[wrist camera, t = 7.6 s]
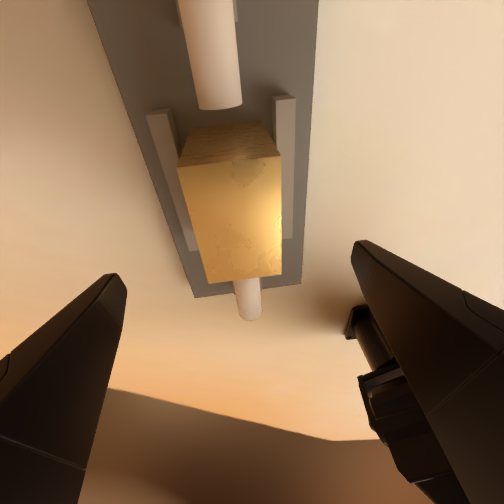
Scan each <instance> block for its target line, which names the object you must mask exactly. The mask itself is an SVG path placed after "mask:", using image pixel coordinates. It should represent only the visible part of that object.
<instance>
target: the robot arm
mask: <svg viewBox="0 0 504 504" xmlns="http://www.w3.org/2000/svg"><path fill="white" fill-rule="evenodd" d="M351 263H352V266H353V269H354V271H355V274H356V277H357V279H358V282H359V285H360V287H361V290H362V293H363V295H364V297H365V299H366V301H367V303H368V305H365V306H358V307H355V308H353V309H352V312H351V315H350V319H349V322H348V326H347V329H346V333H345V338H346V339H347V340H350V339H357V340H358V342H359V344H360V346H361V349H362V351H363V353H364V355H365V357H366V359H367V361H368V363H369V365H370V367H371V370H372V372H370V373H368V374H365V375H360V376H358V377H357V378H358V382H359V388H360V391H361V395H362V398H363V401H364V405H365V408H366V411H367V415H368V420H369V425H370V427H371V429H372V430H374V431H375V432H376V433H377V435H378V436H379V438H380V439H381V441H382V442H383V443H384V444H385V445H386V446H387V447H389V449H390V451H391V454H392V457H393V459H394V462H395V464H396V466H397V468H398V470H399V472H400V473H401V474H402V475H403V476H404V477H405V478H406V479H407V481H408V482H410V483H411V484H413V483H414V484H415V485H417V486H418V488H420V489H421V490H422V491H423V492H424V493H425V494H426V495H427V496H428V497H429V498H430V499H431V500H432V501H433V502H434V503H435V504H504V310H502V309H500V308H498V307H496V306H494V305H492V304H490V303H488V302H486V301H484V300H482V299H480V298H478V297H476V296H474V295H472V294H470V293H468V292H466V291H464V290H463V291H462V289H460V288H459V287H457V286H455V285H453V284H451V283H449V282H447V281H445V280H443V279H441V278H439V277H437V276H435V275H434V274H432V273H430V272H428V271H426V270H424V269H422V268H420V267H418V266H416V265H414V264H412V263H410V262H408V261H407V260H405V259H403V258H401V257H399V256H397V255H395V254H393V253H391V252H389V251H387V250H385V249H383V248H382V247H380V246H378V245H376V244H374V243H372V242H370V241H368V240H360V241H356V242H355V243H354V246H353V250H352V254H351ZM126 298H127V288H126V286H125V285H124V283H123V281H122V280H121V278H120V277H119V275H118V274H117V273H110V274H105V275H103V276H102V277H101V278H99V279H98V280H97V281H96V282H94V283H93V284H92V285H91V286H90V287H88V288H87V289H86V290H85V291H84V292H82V293H81V294H80V295H79V296H78V297H76V298H75V299H74V300H73V301H72V302H70V303H69V304H68V305H67V306H65V307H64V308H63V309H62V310H61V311H59V312H58V313H57V314H56V315H55V316H53V317H52V318H51V319H50V320H49V321H47V322H46V323H45V324H44V325H42V326H41V327H40V328H39V329H38V330H36V331H35V332H34V333H33V334H32V335H30V336H29V337H28V338H27V339H26V340H24V341H23V342H22V343H21V344H19V345H18V346H17V347H16V348H15V349H13V350H12V351H11V353H10V354H7V355H6V356H5V357H4V358H3V359H1V360H0V504H77V503H78V499H79V496H80V491H81V488H82V484H83V480H84V476H85V472H86V467H87V463H88V460H89V456H90V452H91V448H92V445H93V441H94V437H95V433H96V429H97V425H98V421H99V417H100V414H101V410H102V406H103V402H104V398H105V394H106V390H107V387H108V383H109V379H110V375H111V371H112V367H113V363H114V360H115V356H116V352H117V348H118V344H119V340H120V336H121V332H122V327H123V320H124V313H125V306H126Z"/></svg>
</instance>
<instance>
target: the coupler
mask: <svg viewBox="0 0 504 504" xmlns="http://www.w3.org/2000/svg"><path fill="white" fill-rule="evenodd" d="M176 169H177V172H178V176H179V179H180V183H181V187H182V190H183V194H184V197H185V201H186V205H187V208H188V212H189V215H190V219H191V223H192V226H193V230H194V233H195V237H196V241H197V244H198V248H199V251H200V255H201V259H202V262H203V266H204V269H205V273H206V276H207V280H208V284H211V283H219V282H227V281H235V280H243V279H250V278H258V277H266V276H274V275H281V154H280V152H279V151H278V149H277V147H276V146H275V144H274V142H273V141H272V139H271V137H270V135H269V134H268V132H267V130H266V129H265V127H264V125H263V123H262V122H261V121H254V122H245V123H236V124H226V125H217V126H208V127H199V128H191V129H190V131H189V134H188V137H187V140H186V142H185V145H184V148H183V151H182V153H181V156H180V159H179V162H178V164H177V167H176Z"/></svg>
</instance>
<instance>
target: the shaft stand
mask: <svg viewBox="0 0 504 504" xmlns="http://www.w3.org/2000/svg"><path fill="white" fill-rule="evenodd" d="M318 2H319V0H87V3H88V5H89V8H90V11H91V14H92V16H93V19H94V22H95V25H96V27H97V30H98V33H99V36H100V38H101V41H102V44H103V47H104V49H105V52H106V55H107V58H108V60H109V63H110V66H111V69H112V71H113V74H114V77H115V80H116V82H117V85H118V88H119V91H120V93H121V96H122V99H123V102H124V104H125V107H126V110H127V113H128V115H129V118H130V121H131V124H132V126H133V129H134V132H135V135H136V137H137V140H138V143H139V146H140V148H141V151H142V154H143V157H144V159H145V162H146V165H147V168H148V170H149V173H150V176H151V179H152V181H153V184H154V187H155V190H156V192H157V195H158V198H159V201H160V203H161V206H162V209H163V212H164V214H165V217H166V220H167V223H168V225H169V228H170V231H171V234H172V236H173V239H174V242H175V245H176V247H177V250H178V253H179V256H180V258H181V261H182V264H183V267H184V269H185V272H186V275H187V278H188V280H189V283H190V286H191V289H192V291H193V294H194V297H195V298H199V297H207V296H214V295H221V294H229V293H234V294H236V299H237V305H238V310H239V314H240V316H241V318H242V319H244V320H247V321H253V320H256V319H258V318H259V317H260V316H261V314H262V303H261V293H260V291H261V290H262V289H266V288H273V287H280V286H288V285H295V284H301V274H302V258H303V242H304V226H305V210H306V194H307V178H308V162H309V146H310V130H311V114H312V98H313V82H314V66H315V50H316V34H317V18H318ZM254 121H261V122H262V123H263V125H264V127H265V129H266V130H267V132H268V134H269V135H270V137H271V139H272V141H273V142H274V144H275V146H276V147H277V149H278V151H279V152H280V154H281V275H274V276H266V277H258V278H250V279H243V280H235V281H227V282H219V283H211V284H208V280H207V276H206V273H205V269H204V266H203V262H202V259H201V255H200V251H199V248H198V244H197V241H196V237H195V233H194V230H193V226H192V223H191V219H190V215H189V212H188V208H187V205H186V201H185V197H184V194H183V190H182V187H181V183H180V179H179V176H178V172H177V169H176V167H177V164H178V162H179V159H180V156H181V153H182V151H183V148H184V145H185V142H186V140H187V137H188V134H189V131H190V129H191V128H199V127H208V126H217V125H226V124H236V123H245V122H254Z"/></svg>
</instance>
